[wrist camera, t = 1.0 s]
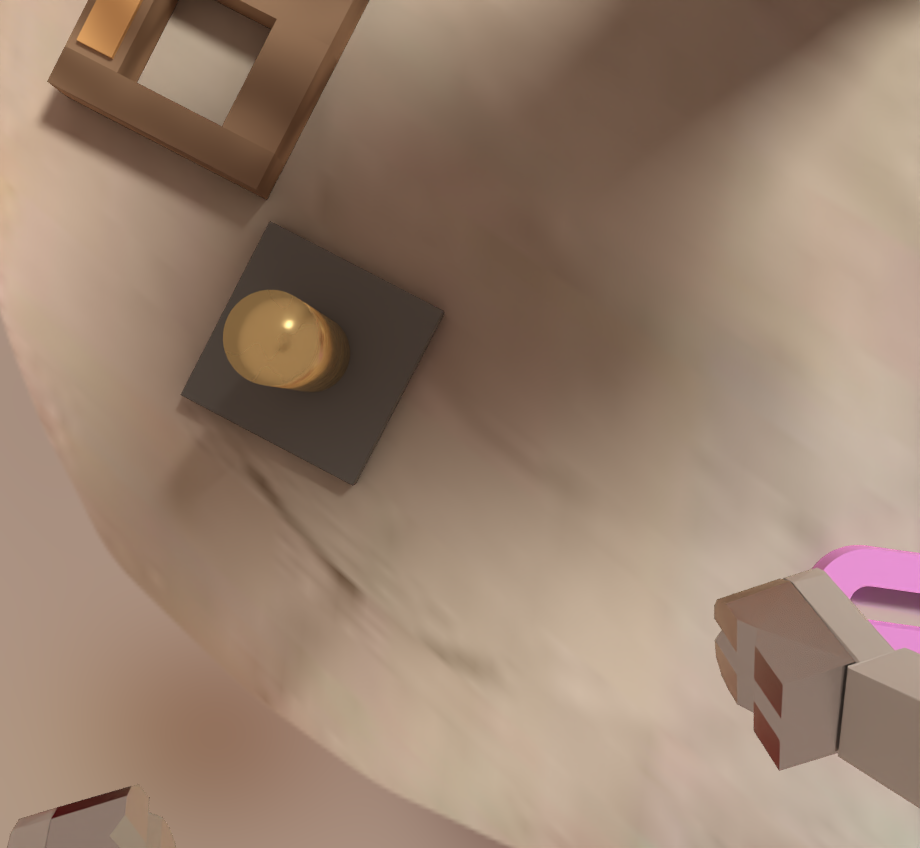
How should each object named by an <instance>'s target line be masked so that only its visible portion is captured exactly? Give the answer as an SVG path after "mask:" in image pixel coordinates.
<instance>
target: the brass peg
mask: <svg viewBox="0 0 920 848" xmlns="http://www.w3.org/2000/svg"><path fill="white" fill-rule="evenodd" d="M223 345H224V350H225V353H226V356H227V358H228V360H229V362H230V364H231V365H232V367H233V368H234V369H235V370H236V371H237V372H238V373H239V374H240V375H241V376H242V377H244V378H245V379H247V380H249V381H251V382H253V383H256V384H260V385H266V386H272V387H279V388H285V389H291V390H297V391H304V392H319V391H323V390H325V389H328V388H330V387H331V386H333V385H334V384H336V383H337V382H338V381H339V380H340V379H341V378H342V376H343V375H344V373H345V372H346V369H347V367H348V364H349V360H350V346H349V342H348V339H347V336H346V334H345V333H344V331H343V330H342V328H341V327H340V326H339V325H338V324H337V323H336V322H334V321H333V320H331V319H330V318H328V317H327V316H325V315H324V314H322V313H320V312H319V311H317V310H316V309H314V308H312V307H311V306H309V305H308V304H306V303H304V302H303V301H301V300H300V299H298V298H297V297H295V296H293V295H291V294H289V293H287V292H283V291H279V290H262V291H258V292H255V293H252V294H250V295H248V296H246V297H244V298H243V299H242V300H240V301H239V302H238V303H237V304H236V305H235V306H234V308H233V309H232V310H231V312H230V314H229V315H228V317H227V320H226V322H225V326H224V331H223Z"/></svg>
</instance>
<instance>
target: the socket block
mask: <svg viewBox="0 0 920 848" xmlns="http://www.w3.org/2000/svg"><path fill="white" fill-rule="evenodd" d="M215 1H217V2H219V3H221V4H223V5H225V6H227V7H229V8H231V9H232V10H234V11H236V12H238V13H240V14H242V15H244V16H246V17H248V18H250V19H252V20H254V21H256V22H258V23H260V24H262V25H264V26H266V27H268V28H270V29H271V31H270V33H269V35H268V37H267V39H266V41H265V43H264V45H263V47H262V49H261V51H260V53H259V55H258V57H257V59H256V61H255V63H254V65H253V67H252V69H251V71H250V72H249V74H248V76H247V78H246V80H245V82H244V84H243V86H242V88H241V90H240V92H239V94H238V96H237V98H236V100H235V102H234V104H233V106H232V108H231V110H230V112H229V114H228V116H227V117H226V119H225V121H224V123H223V125H222V126H220V125H218V124H216V123H214V122H212V121H210V120H208V119H206V118H204V117H202V116H200V115H198V114H197V113H195V112H193V111H191V110H189V109H187V108H185V107H183V106H181V105H179V104H177V103H175V102H173V101H171V100H169V99H167V98H165V97H163V96H162V95H160V94H158V93H156V92H154V91H152V90H150V89H148V88H146V87H144V86H142V85H140V84H138V83H137V81H138V79H139V77H140V75H141V73H142V71H143V69H144V67H145V65H146V63H147V61H148V59H149V57H150V55H151V54H152V52H153V50H154V48H155V46H156V44H157V42H158V40H159V38H160V36H161V34H162V32H163V30H164V28H165V26H166V24H167V22H168V20H169V18H170V16H171V14H172V12H173V10H174V8H175V6H176V4H177V2H178V0H88V2H87V4H86V6H85V8H84V10H83V12H82V14H81V16H80V18H79V20H78V22H77V24H76V26H75V28H74V29H73V31H72V33H71V35H70V37H69V39H68V41H67V43H66V45H65V47H64V49H63V51H62V53H61V55H60V57H59V59H58V61H57V63H56V65H55V67H54V69H53V71H52V73H51V75H50V77H49V79H48V81H47V82H49V83H50V84H51V85H52V86H54V87H55V88H56V89H58V90H59V91H60V92H62V93H63V94H64V95H66V96H67V97H69V98H71V99H73V100H75V101H77V102H78V103H80V104H82V105H84V106H86V107H88V108H90V109H92V110H94V111H96V112H98V113H100V114H102V115H104V116H106V117H108V118H109V119H111V120H113V121H115V122H117V123H119V124H121V125H123V126H125V127H127V128H129V129H131V130H133V131H135V132H137V133H138V134H140V135H142V136H144V137H146V138H148V139H150V140H152V141H154V142H156V143H158V144H160V145H162V146H164V147H166V148H168V149H169V150H171V151H173V152H175V153H177V154H179V155H181V156H183V157H185V158H187V159H189V160H191V161H193V162H195V163H197V164H199V165H200V166H202V167H204V168H206V169H208V170H210V171H212V172H214V173H216V174H218V175H220V176H222V177H224V178H226V179H228V180H229V181H231V182H233V183H235V184H237V185H239V186H241V187H243V188H245V189H247V190H249V191H251V192H253V193H255V194H257V195H259V196H260V197H262V198H264V199H266V200H267V199H268V197H269V195H270V193H271V191H272V189H273V187H274V185H275V183H276V181H277V179H278V177H279V175H280V173H281V171H282V169H283V167H284V165H285V164H286V162H287V160H288V158H289V156H290V154H291V152H292V150H293V148H294V146H295V144H296V142H297V140H298V138H299V136H300V134H301V132H302V130H303V128H304V126H305V125H306V123H307V121H308V119H309V117H310V115H311V113H312V111H313V109H314V107H315V105H316V103H317V101H318V99H319V97H320V95H321V93H322V91H323V89H324V87H325V86H326V84H327V82H328V80H329V78H330V76H331V74H332V72H333V70H334V68H335V66H336V64H337V62H338V60H339V58H340V56H341V54H342V52H343V50H344V49H345V47H346V45H347V43H348V41H349V39H350V37H351V35H352V33H353V31H354V29H355V27H356V25H357V23H358V21H359V19H360V17H361V15H362V13H363V11H364V10H365V8H366V6H367V4H368V2H369V0H215Z"/></svg>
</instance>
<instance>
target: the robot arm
mask: <svg viewBox="0 0 920 848" xmlns="http://www.w3.org/2000/svg"><path fill="white" fill-rule="evenodd" d="M714 619H715V620H716V622H717V623H718V625H719V626H720V628H721V629H722V631H721V632H720V633H719V635H718V636H717V638H716V639H715V649H716V658H717V662H718V665H719V668H720V672H721V675H722V677H723V679H724V681H725V683H726V686H727V688H728V690H729V691H730V693H731V695H732V696H733V698H734V700H735V701H736V703H737V704H738V705H740V706H742V707H744V708H746V709H748V710H750V711H751V712H753V713H754V732H755V733H756V735H757V737H758V738H759V740H760V741H761V743H762V744H763V746H764V748H765V749H766V751H767V752H768V754H769V756H770V757H771V759H772V760H773V762H774V763H775V765H776V767H777V768H778V770H779V771H780V770H783V769H787V768H790V767H793V766H796V765H800V764H803V763H806V762H810V761H813V760H816V759H819V758H823V757H826V756H829V755H832V754H836V753H838V757H840V758H842V759H843V760H845V761H846V762H848V763H849V764H851V765H853V766H854V767H856V768H857V769H859V770H860V771H862V772H864V773H865V774H867V775H868V776H870V777H871V778H873V779H874V780H876V781H878V782H879V783H881V784H882V785H884V786H885V787H887V788H889V789H890V790H892V791H893V792H895V793H896V794H898V795H900V796H901V797H903V798H904V799H906V800H907V801H909V802H911V803H912V804H914V805H915V806H917V807H918V808H920V654H919V653H917V652H914V651H912V650H910V649H907V648H902V649H898V650H894V649H893V648H892V647H891V645H890V644H889V643H888V642H887V641H886V640H885V639H884V638H883V636H882V635H881V634H880V633H879V632H878V631H877V630H876V629H875V627H874V626H873V625H872V624H871V623H870V622H869V621H868V619H867V618H866V617H865V616H864V615H863V614H862V613H861V612H860V610H859V609H858V608H857V607H856V606H855V605H854V604H853V603H852V601H851V600H850V599H849V598H848V597H847V596H846V595H845V594H844V592H843V591H842V590H841V589H840V588H839V587H838V586H837V584H836V583H835V582H834V581H833V580H832V579H831V578H830V577H829V575H828V574H827V573H826V572H825V571H823V570H821V569H819V568H814V569H811V570H808V571H805V572H801V573H798V574H795V575H792V576H789V577H786V578H783V579H777V580H774V581H771V582H768V583H765V584H762V585H759V586H756V587H753V588H750V589H747V590H744V591H741V592H738V593H735V594H732V595H729V596H726V597H723V598H720V599H717V601H716V603H715V605H714ZM7 848H176V845H175V841H174V838H173V835H172V833H171V831H170V828H169V826H168V824H167V823H166V821H165V820H164V819H163V817H161V816H158V815H155V814H152V813H149V797H148V795H147V794H146V793H145V791H144V790H143V789H142V787H141V786H140V785H139V784H137V785H134V786H130V787H126V788H123V789H119V790H116V791H112V792H109V793H105V794H102V795H98V796H95V797H91V798H88V799H85V800H81V801H78V802H74V803H71V804H68V805H64V806H60V807H57V808H54V809H51V810H47V811H44V812H41V813H38V814H34V815H31V816H27V817H24V818H21V819H19V820H18V822H17V823H16V825H15V827H14V828H13V830H12V832H11V834H10V838H9V842H8V846H7Z"/></svg>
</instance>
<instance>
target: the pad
mask: <svg viewBox="0 0 920 848" xmlns="http://www.w3.org/2000/svg"><path fill="white" fill-rule="evenodd" d="M262 290H279V291H283V292H287V293H289V294H291V295H293V296H295V297H297V298H298V299H300V300H301V301H303V302H304V303H306V304H308V305H309V306H311V307H312V308H314V309H316V310H317V311H319V312H320V313H322V314H324V315H325V316H327V317H328V318H330V319H331V320H333V321H334V322H336V323H337V324H338V325H339V326H340V327H341V328H342V330H343V331H344V333H345V334H346V336H347V339H348V342H349V346H350V360H349V364H348V367H347V369H346V372H345V373H344V375H343V376H342V378H341V379H340V380H339V381H338V382H337V383H336V384H334V385H333V386H331V387H330V388H328V389H325V390H323V391H319V392H304V391H297V390H291V389H285V388H279V387H272V386H266V385H260V384H256V383H253V382H251V381H249V380H247V379H245V378H244V377H242V376H241V375H240V374H239V373H238V372H237V371H236V370H235V369H234V368H233V367H232V365H231V364H230V362H229V360H228V358H227V356H226V353H225V350H224V345H223V331H224V326H225V322H226V320H227V317H228V315H229V314H230V312H231V310H232V309H233V308H234V306H235V305H236V304H237V303H238V302H239V301H240V300H242V299H243V298H244V297H246V296H248V295H250V294H252V293H255V292H258V291H262ZM443 315H444V311H443V310H441V309H439V308H437V307H435V306H433V305H431V304H429V303H427V302H425V301H423V300H421V299H420V298H418V297H416V296H414V295H412V294H410V293H408V292H406V291H404V290H402V289H400V288H398V287H396V286H394V285H392V284H391V283H389V282H387V281H385V280H383V279H381V278H379V277H377V276H375V275H373V274H371V273H369V272H367V271H365V270H363V269H362V268H360V267H358V266H356V265H354V264H352V263H350V262H348V261H346V260H344V259H342V258H340V257H338V256H336V255H334V254H333V253H331V252H329V251H327V250H325V249H323V248H321V247H319V246H317V245H315V244H313V243H311V242H309V241H307V240H306V239H304V238H302V237H300V236H298V235H296V234H294V233H292V232H290V231H288V230H286V229H284V228H282V227H280V226H278V225H277V224H275V223H273V222H271V221H270V222H269V224H268V226H267V228H266V230H265V232H264V234H263V236H262V238H261V239H260V241H259V243H258V245H257V247H256V249H255V251H254V253H253V255H252V257H251V259H250V261H249V263H248V265H247V267H246V269H245V271H244V273H243V275H242V276H241V278H240V280H239V282H238V284H237V286H236V288H235V290H234V292H233V294H232V296H231V298H230V300H229V302H228V304H227V306H226V308H225V310H224V312H223V313H222V315H221V317H220V319H219V321H218V323H217V325H216V327H215V329H214V331H213V333H212V335H211V337H210V339H209V341H208V343H207V345H206V347H205V349H204V350H203V352H202V354H201V356H200V358H199V360H198V362H197V364H196V366H195V368H194V370H193V372H192V374H191V376H190V378H189V380H188V382H187V384H186V386H185V387H184V389H183V391H182V393H181V395H182V396H184V397H186V398H188V399H190V400H191V401H193V402H195V403H197V404H199V405H201V406H203V407H205V408H207V409H209V410H210V411H212V412H214V413H216V414H218V415H220V416H222V417H224V418H226V419H228V420H229V421H231V422H233V423H235V424H237V425H239V426H241V427H243V428H245V429H246V430H248V431H250V432H252V433H254V434H256V435H258V436H260V437H262V438H264V439H265V440H267V441H269V442H271V443H273V444H275V445H277V446H279V447H281V448H282V449H284V450H286V451H288V452H290V453H292V454H294V455H296V456H298V457H300V458H301V459H303V460H305V461H307V462H309V463H311V464H313V465H315V466H317V467H319V468H320V469H322V470H324V471H326V472H328V473H330V474H332V475H334V476H336V477H337V478H339V479H341V480H343V481H345V482H347V483H349V484H351V485H355V484H356V483H357V481H358V479H359V477H360V475H361V473H362V471H363V469H364V467H365V465H366V463H367V461H368V459H369V458H370V456H371V454H372V452H373V450H374V448H375V446H376V444H377V442H378V440H379V438H380V436H381V434H382V433H383V431H384V429H385V427H386V425H387V423H388V421H389V419H390V417H391V415H392V413H393V411H394V409H395V407H396V406H397V404H398V402H399V400H400V398H401V396H402V394H403V392H404V390H405V388H406V386H407V384H408V382H409V381H410V379H411V377H412V375H413V373H414V371H415V369H416V367H417V365H418V363H419V361H420V359H421V357H422V356H423V354H424V352H425V350H426V348H427V346H428V344H429V342H430V340H431V338H432V336H433V334H434V332H435V330H436V329H437V327H438V325H439V323H440V321H441V319H442V317H443Z"/></svg>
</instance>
